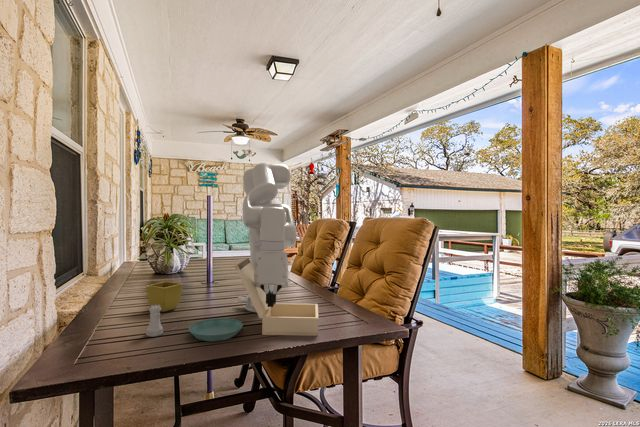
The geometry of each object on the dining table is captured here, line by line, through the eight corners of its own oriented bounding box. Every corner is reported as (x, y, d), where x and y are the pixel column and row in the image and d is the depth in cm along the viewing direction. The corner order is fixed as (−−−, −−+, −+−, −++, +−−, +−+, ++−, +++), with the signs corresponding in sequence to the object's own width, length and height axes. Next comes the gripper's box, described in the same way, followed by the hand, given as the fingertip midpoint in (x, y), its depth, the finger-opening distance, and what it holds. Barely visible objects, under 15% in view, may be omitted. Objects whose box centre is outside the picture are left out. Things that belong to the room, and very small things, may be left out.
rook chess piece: (151, 338, 94) (152, 308, 94) (142, 335, 96) (143, 306, 96) (166, 333, 97) (167, 305, 98) (157, 330, 100) (157, 303, 100)
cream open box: (262, 334, 98) (262, 317, 98) (269, 318, 114) (269, 303, 114) (318, 335, 99) (318, 318, 99) (317, 318, 115) (317, 303, 115)
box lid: (262, 317, 98) (259, 318, 98) (269, 302, 115) (267, 304, 115) (237, 264, 98) (234, 266, 98) (248, 257, 115) (245, 259, 115)
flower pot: (144, 311, 119) (145, 285, 119) (164, 305, 127) (165, 281, 127) (163, 314, 116) (164, 287, 116) (183, 308, 124) (183, 283, 124)
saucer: (200, 325, 106) (200, 317, 106) (248, 327, 105) (248, 318, 105) (179, 343, 91) (179, 333, 91) (234, 345, 90) (234, 335, 91)
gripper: (245, 247, 103) (243, 308, 103) (295, 248, 103) (294, 309, 103) (250, 245, 110) (249, 302, 110) (297, 246, 110) (295, 303, 110)
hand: (270, 305), depth 106 cm, fingers closed
